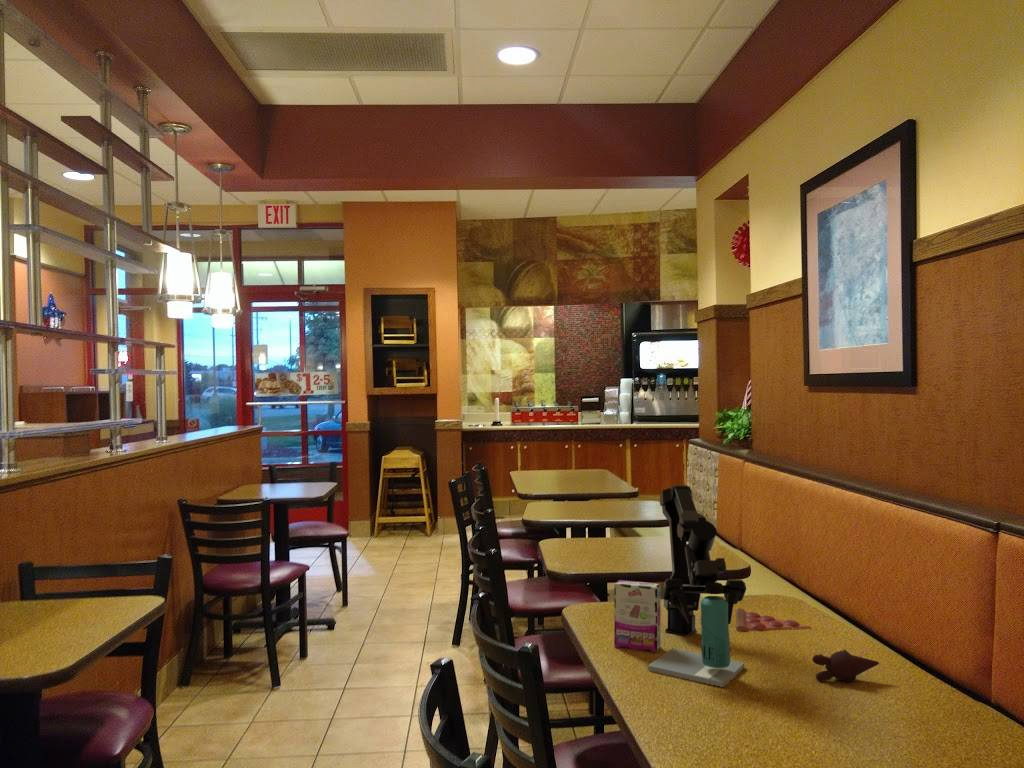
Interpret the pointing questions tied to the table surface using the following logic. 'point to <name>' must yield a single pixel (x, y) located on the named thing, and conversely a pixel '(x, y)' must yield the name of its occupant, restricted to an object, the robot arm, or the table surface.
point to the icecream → (842, 666)
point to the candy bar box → (637, 616)
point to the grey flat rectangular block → (694, 668)
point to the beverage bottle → (715, 628)
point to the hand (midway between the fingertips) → (709, 622)
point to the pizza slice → (762, 622)
